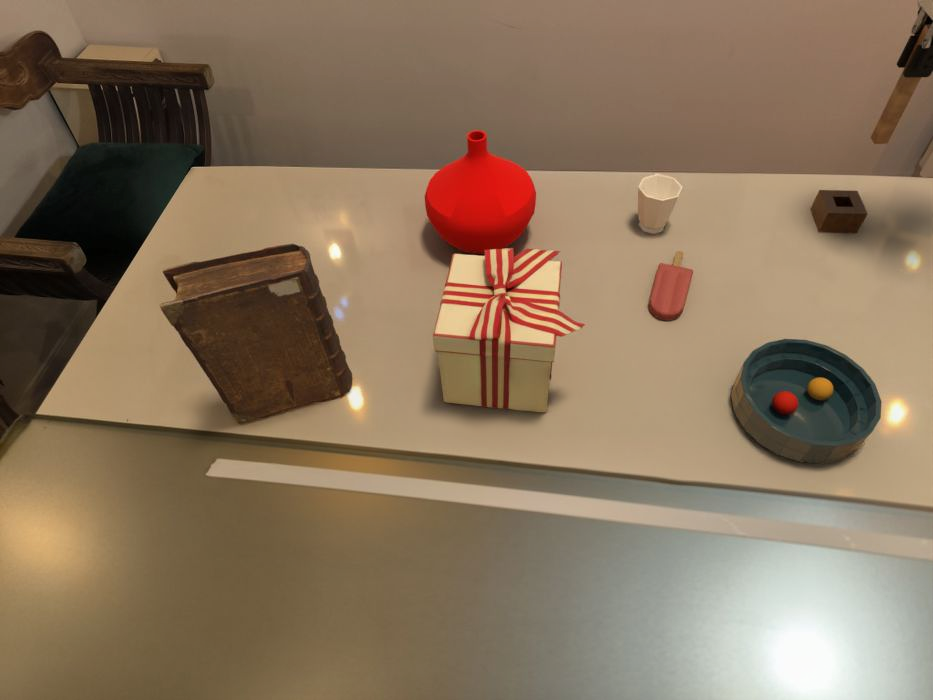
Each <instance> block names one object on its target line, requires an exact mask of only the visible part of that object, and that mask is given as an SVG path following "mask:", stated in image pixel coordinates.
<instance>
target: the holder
mask: <svg viewBox="0 0 933 700" xmlns="http://www.w3.org/2000/svg"><path fill="white" fill-rule="evenodd" d="M811 211H812V212H811ZM810 212H811V216H812V218H813V220H814V223H815V226H816V228H817V232H818V233H841V234H842V233H844V234H845V233H847V234H858V232H859V231H860V229H861V227H862V225H863V223H864V221H865V220H866V218H867V216H868V213H869V212H868V211H867V208H866V206H865V204H864V202H863V200H862V198H861V195H860V193H859V191H858V190H846V189H845V190H839V189H837V190H835V189H819V190H818V192H817V194H816V196H815V198H814V200H813V203H812V205H811V207H810Z"/></svg>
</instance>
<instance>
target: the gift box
mask: <svg viewBox="0 0 933 700" xmlns="http://www.w3.org/2000/svg"><path fill="white" fill-rule="evenodd" d="M559 253H561V250H546V249H537V248H525V249H523V251H521V252H519V253H518V254H516V255H515V256H514V248H513V247H505V248H503V249H492V250H484V253H483V254H484V255H480V254H478V255H477V254H464V253H463V254H462V253H452V255H451V260H450V264H449V268H448V273H447V277H446V279H445V280H446V281H445V283H444V289H443V293H442V297H441V300H440V304H439V306H440V307H439V309H438V314H437V318H436V321H435V326H434V329H433V333H432V343H433V351H434V352H437V356H438V363H439V364H438V365H439V373H440V381H441V389H442V396H443V401H444V402H445V403H448V404H457V405H467V406H476V407H477V406H478V407H483V408H493V409H503V410H516V411H524V412H525V411H526V412H535V413H536V412H537V413H547V410H548V401H549V390H550V389H549V388H550V381H551V380H552V372H553V371H552V369H553V363H554V362H555V356H556V348H557V336H558V337H560V338H561V337H564V336H568V335H570V334H572V333H574V332H576V331H579V330H581V329H583V327H584V326H586V324H585V323H582V322H578V321H576V320H574V319H573V318H571V317H570V316H569V315H566V314H565V313H564V312H562V311H560V305H561V293H560V292H561V280H562V268H563V261H558V260H557V261H556V260H552V259H553V258H555V257H556V256H557V255H559Z"/></svg>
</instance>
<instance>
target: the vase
mask: <svg viewBox="0 0 933 700" xmlns="http://www.w3.org/2000/svg"><path fill="white" fill-rule="evenodd" d="M487 137H488V136H487V133H486V132H485V131H483V130H481V129H479V130H477V129H476V130H471V131H469V132H468V133H467V134H466V141H467V153H466V154H465V155H463V156H462V157H460V158H458V159H456V160H454V161H451V162H450V163H448V164H446V165H444V166H443V167H441V168H440V169H439V170H437V171H436V172H435V173H434V174H433V175H432V177H430V179H429V181H428V184H427V187H426V189H425V193H424V207H425V212H426V217H427V218H428V221H429V223H430V224H431V226H432V227H433V228H434V230H435V231H436V233H437V234H438V236H439V237H440V238H442V239H443V240H444V241H445V242H446V243H447V244H449V245H451V246H452V247H454V248H456V249H458V250H460V251H462V252H466V253H469V254H478V255H480V254H485V253H484V250H492V249H506V248H508V246H510V245H511V244H513V243H514V242H515V241H516V240H517V239H519V238H520V237H521V236H522V235H523V233H524V232H525V231H526V229H527V227H528V225H529V224H530V221H531V220H532V218H533V216H534V214H535V211H536V210H535V209H536V203H537V190H536V187H535V184H534V181H533V179H532V177H531V175H530V174H529V173H528V171H527V170H526V169H525V168H523V167H522V166H520V165H519V164H518V163H516V162H513V161H511V160H508V159H506V158H502V157H499V156H497V155H494V154H492V153H490V152H489V150H488V139H487Z"/></svg>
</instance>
